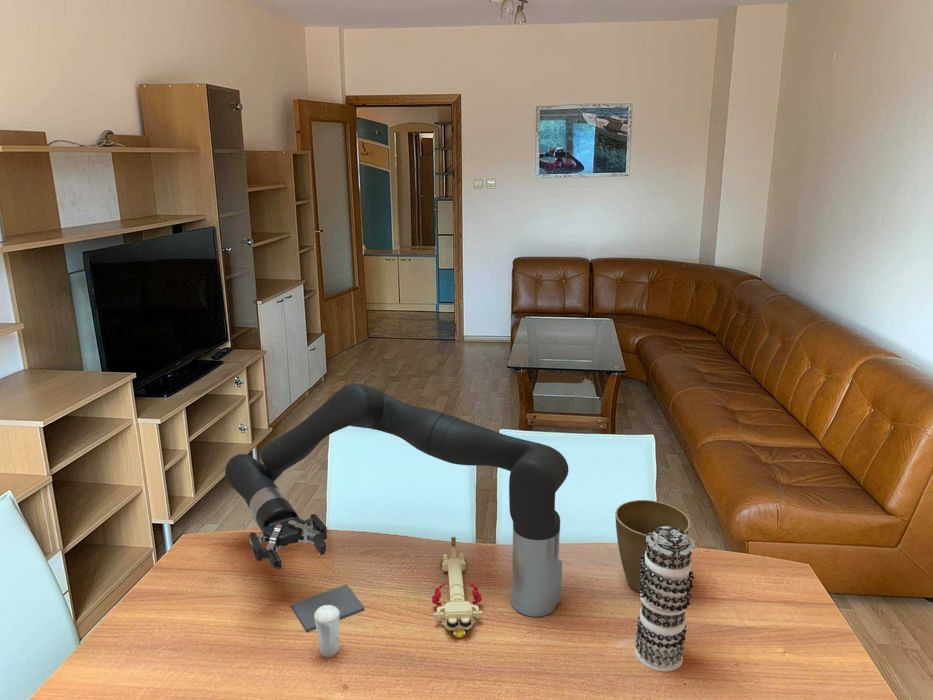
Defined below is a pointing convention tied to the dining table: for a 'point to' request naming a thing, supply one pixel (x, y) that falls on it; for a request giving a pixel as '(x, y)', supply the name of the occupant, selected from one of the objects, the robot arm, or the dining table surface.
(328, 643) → the milkshake
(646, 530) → the plant pot
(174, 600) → the dining table surface
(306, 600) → the charcoal mat
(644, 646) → the decorative candle
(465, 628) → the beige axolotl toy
